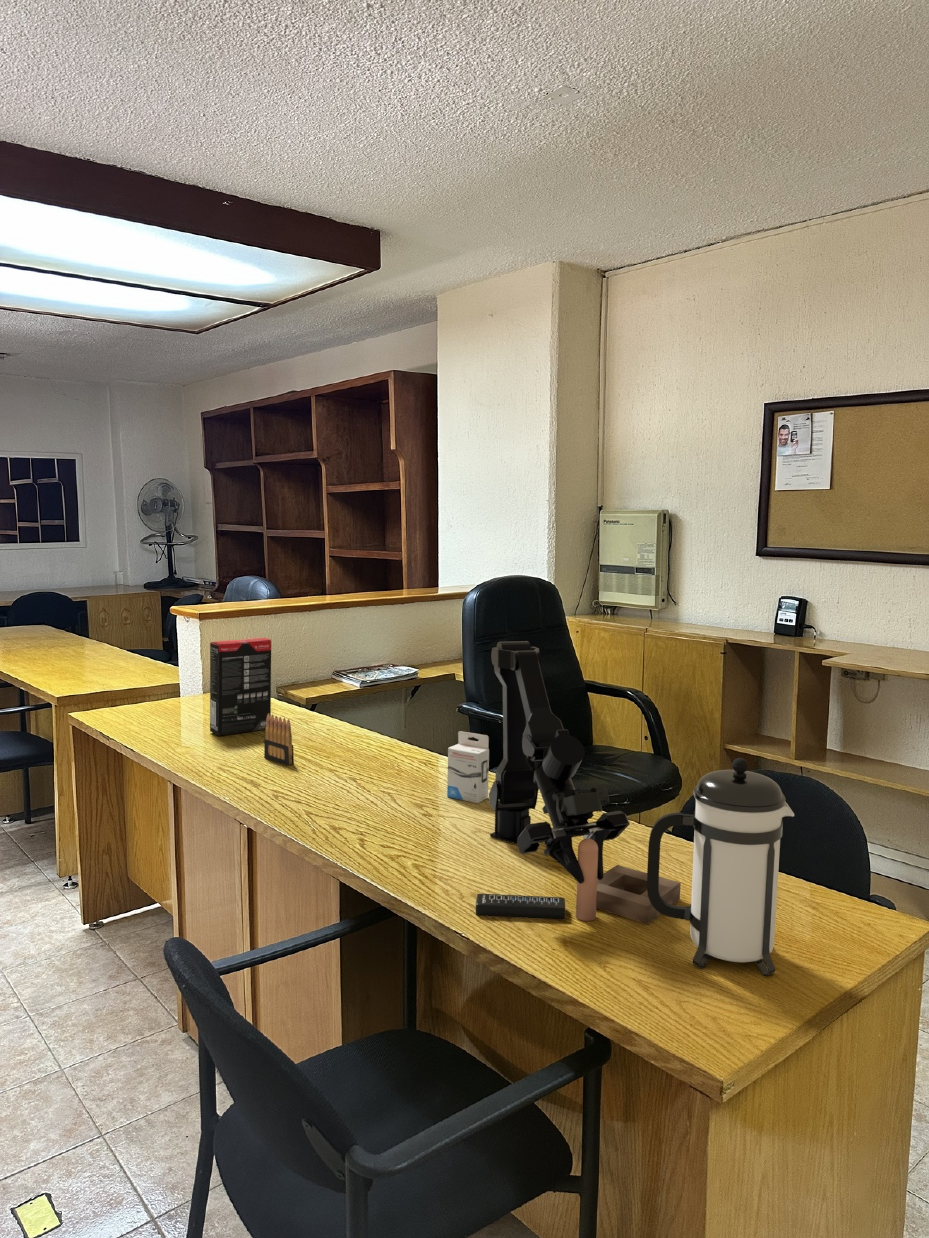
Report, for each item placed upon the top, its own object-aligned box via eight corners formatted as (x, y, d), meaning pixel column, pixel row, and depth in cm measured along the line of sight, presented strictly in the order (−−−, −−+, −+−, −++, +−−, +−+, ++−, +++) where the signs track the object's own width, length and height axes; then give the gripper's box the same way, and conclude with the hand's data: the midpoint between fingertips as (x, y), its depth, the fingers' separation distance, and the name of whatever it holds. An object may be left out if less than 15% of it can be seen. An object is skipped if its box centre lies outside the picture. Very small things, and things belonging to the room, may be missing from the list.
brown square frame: (582, 903, 149) (582, 886, 149) (616, 880, 158) (617, 864, 158) (648, 924, 142) (648, 906, 141) (679, 899, 151) (680, 882, 151)
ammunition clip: (264, 757, 235) (263, 713, 233) (269, 756, 236) (269, 712, 234) (288, 766, 227) (287, 720, 226) (294, 764, 229) (293, 718, 227)
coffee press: (725, 921, 143) (734, 739, 140) (806, 965, 129) (818, 764, 126) (641, 944, 135) (648, 751, 131) (717, 994, 121) (727, 780, 118)
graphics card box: (262, 724, 271) (261, 636, 268) (273, 729, 266) (272, 638, 262) (209, 733, 260) (207, 640, 257) (219, 737, 255) (217, 643, 251)
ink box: (446, 797, 204) (446, 734, 202) (456, 791, 208) (457, 730, 206) (478, 803, 200) (479, 739, 198) (489, 797, 204) (490, 735, 202)
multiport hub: (565, 922, 143) (565, 908, 143) (475, 917, 144) (475, 904, 144) (564, 910, 147) (564, 896, 147) (477, 906, 148) (477, 892, 148)
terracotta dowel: (572, 916, 144) (574, 839, 142) (582, 910, 146) (584, 833, 145) (589, 922, 142) (592, 844, 140) (599, 915, 144) (602, 838, 143)
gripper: (526, 776, 141) (560, 868, 132) (625, 763, 149) (663, 850, 140) (503, 808, 149) (533, 897, 140) (598, 795, 157) (632, 879, 148)
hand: (591, 880), depth 142 cm, fingers closed on terracotta dowel, 3 cm apart
